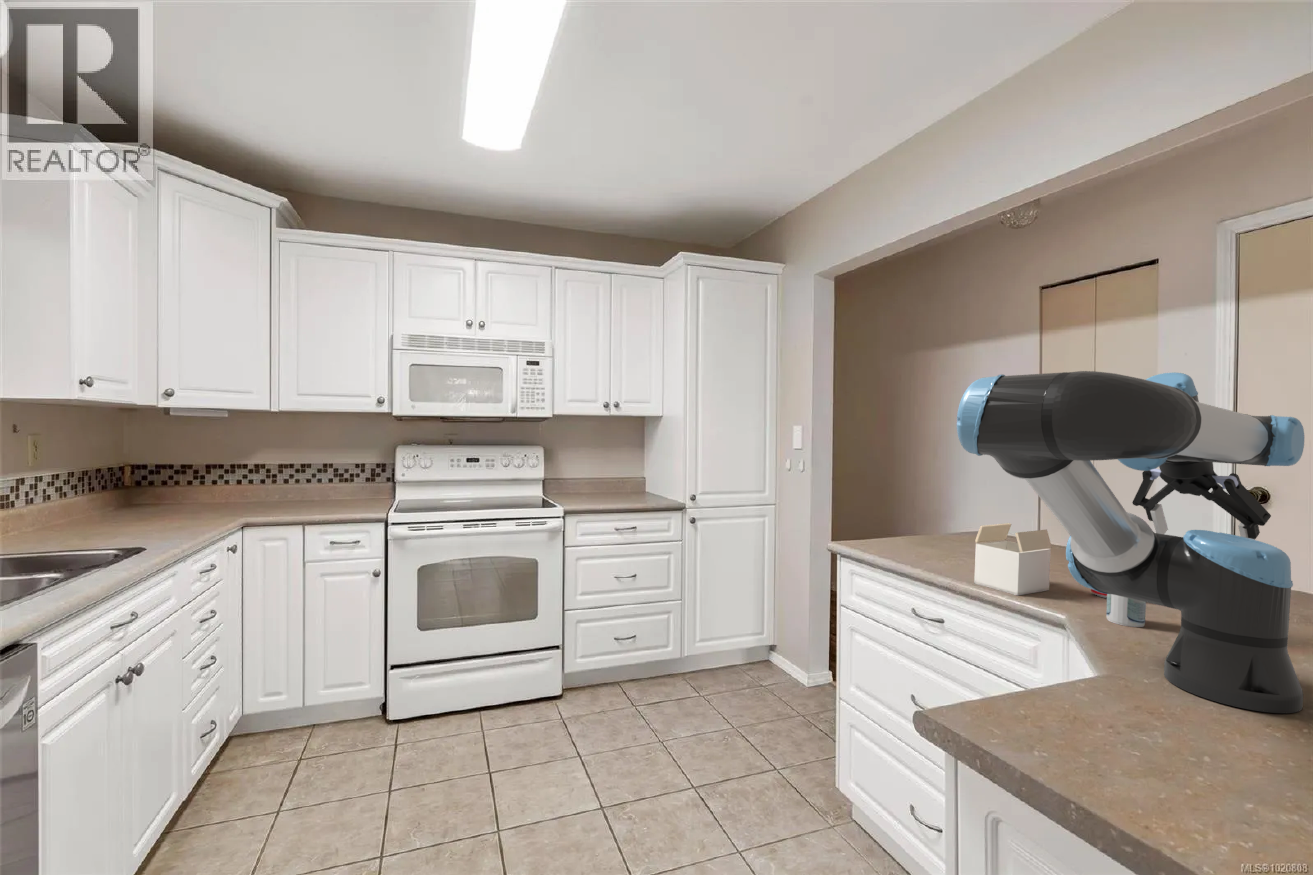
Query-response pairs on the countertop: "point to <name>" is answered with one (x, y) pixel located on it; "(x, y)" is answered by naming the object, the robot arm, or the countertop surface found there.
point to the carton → (1011, 568)
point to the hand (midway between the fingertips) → (1204, 541)
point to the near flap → (1033, 540)
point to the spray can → (1125, 611)
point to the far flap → (993, 532)
